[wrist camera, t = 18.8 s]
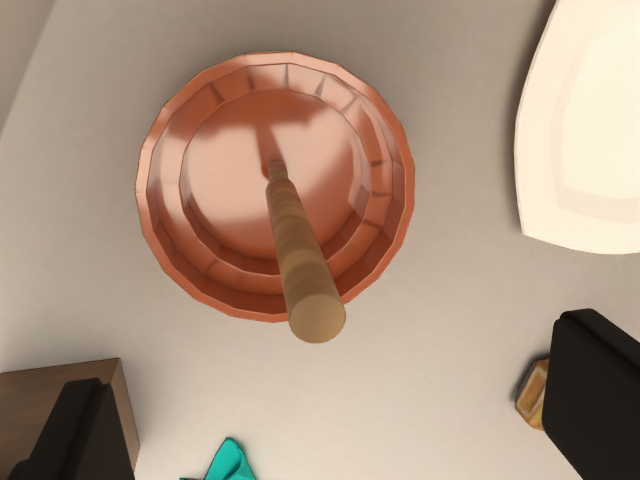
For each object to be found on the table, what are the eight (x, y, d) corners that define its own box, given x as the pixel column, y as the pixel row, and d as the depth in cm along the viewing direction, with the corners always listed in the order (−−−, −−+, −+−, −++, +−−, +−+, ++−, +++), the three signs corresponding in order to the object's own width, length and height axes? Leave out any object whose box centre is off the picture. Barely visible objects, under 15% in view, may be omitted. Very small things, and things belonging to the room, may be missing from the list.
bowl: (173, 294, 35) (162, 336, 30) (131, 59, 29) (108, 62, 24) (389, 269, 37) (413, 305, 32) (387, 43, 31) (416, 43, 26)
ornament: (610, 359, 43) (713, 445, 34) (581, 418, 45) (671, 515, 35) (528, 347, 41) (613, 434, 32) (501, 409, 43) (574, 508, 34)
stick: (264, 199, 33) (291, 356, 16) (261, 162, 32) (286, 288, 15) (292, 196, 33) (347, 348, 16) (289, 159, 32) (344, 281, 16)
